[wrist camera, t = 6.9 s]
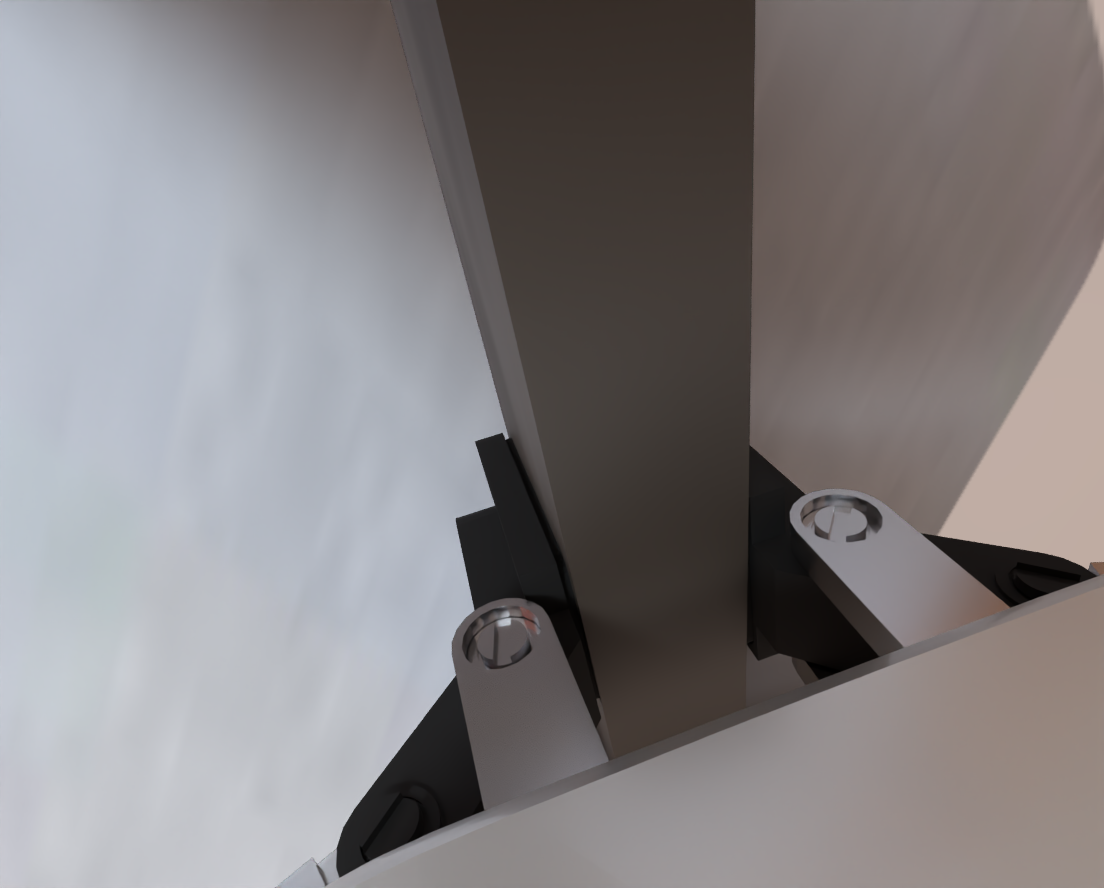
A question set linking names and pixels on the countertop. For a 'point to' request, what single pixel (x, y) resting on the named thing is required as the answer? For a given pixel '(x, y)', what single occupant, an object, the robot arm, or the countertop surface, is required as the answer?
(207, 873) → the countertop surface
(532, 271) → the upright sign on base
